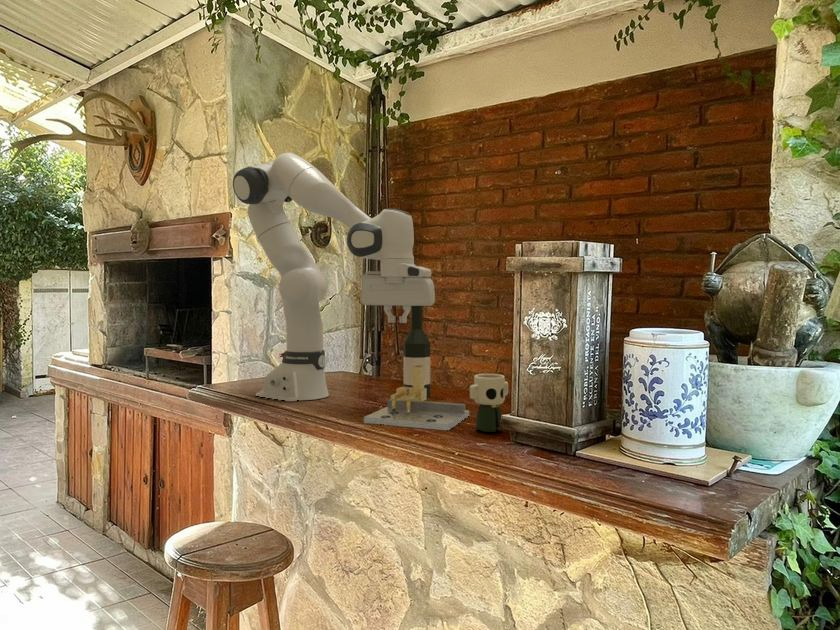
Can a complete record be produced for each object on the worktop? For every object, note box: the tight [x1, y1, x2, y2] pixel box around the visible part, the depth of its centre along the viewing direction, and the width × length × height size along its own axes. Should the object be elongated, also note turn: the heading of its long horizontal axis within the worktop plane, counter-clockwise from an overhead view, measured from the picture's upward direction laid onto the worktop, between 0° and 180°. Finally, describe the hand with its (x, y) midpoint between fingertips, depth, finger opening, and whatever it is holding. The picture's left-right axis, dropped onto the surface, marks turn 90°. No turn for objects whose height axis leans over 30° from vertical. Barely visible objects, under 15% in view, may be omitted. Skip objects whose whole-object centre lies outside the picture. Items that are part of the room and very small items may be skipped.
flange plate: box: [363, 386, 470, 431], centre depth 153 cm, size 22×17×7 cm
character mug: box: [469, 373, 509, 433], centre depth 140 cm, size 11×7×13 cm, turn 121°
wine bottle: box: [402, 306, 431, 399], centre depth 184 cm, size 8×8×30 cm
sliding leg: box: [405, 365, 428, 413], centre depth 156 cm, size 3×10×11 cm, turn 159°
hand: (397, 322), depth 160 cm, fingers closed
